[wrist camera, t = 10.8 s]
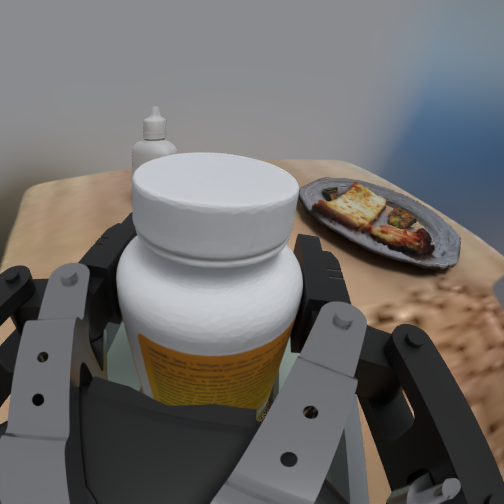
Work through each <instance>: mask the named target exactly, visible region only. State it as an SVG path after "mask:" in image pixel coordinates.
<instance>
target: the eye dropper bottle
mask: <svg viewBox="0 0 504 504" xmlns="http://www.w3.org/2000/svg"><path fill="white" fill-rule="evenodd" d="M143 129H144V131H143V138H144V140H142V141H139V142H137V143H136V144H135V145H134V146H133V148H132V178H133V174H134V172H135V171H136V170H137V169H138V168H139V167H140V166H141V165H143V164H144V163H146V162H149V161H151V160H154V159H157V158H160V157H164V156H168V155H174V154H178V151H177V148H176V147H175V146H174V145H173V144H172V143H170V142H169V141H167V140H166V139H165V137H166V119H165V118H162V117H161V116H160V111H159V107H152V111H151V115H150V117H149V118H147V119H145V120H144V127H143Z"/></svg>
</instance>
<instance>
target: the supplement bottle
mask: <svg viewBox="0 0 504 504" xmlns="http://www.w3.org/2000/svg"><path fill="white" fill-rule="evenodd" d="M298 194H299V186H298V183H297V181H296V180H295V178H294V177H293V176H291V175H290V174H289V173H288V172H286V171H284V170H282V169H281V168H279V167H277V166H274V165H272V164H269V163H267V162H263V161H260V160H256V159H252V158H248V157H243V156H238V155H231V154H223V153H182V154H174V155H168V156H164V157H160V158H157V159H154V160H151V161H149V162H146V163H144V164H143V165H141V166H140V167H139V168H138V169H137V170H136V171H135V172H134V174H133V178H132V200H133V214H132V219H133V223H134V226H135V229H136V233H137V236H136V237H135V238H134V239H133V240H132V241H131V242H130V243H129V244H128V245H127V247H126V248H125V250H124V251H123V253H122V255H121V257H120V260H119V263H118V267H117V274H116V283H117V293H118V300H119V306H120V310H121V314H122V318H123V322H124V326H125V330H126V334H127V338H128V342H129V346H130V349H131V353H132V357H133V360H134V364H135V367H136V370H137V374H138V377H139V380H140V384H141V387H142V390H143V393H144V394H145V395H147V396H149V397H151V398H153V399H155V400H157V401H159V402H161V403H163V404H165V405H169V406H180V405H204V404H218V405H225V406H232V407H241V408H250V409H257V413H256V420H257V421H258V420H259V418H260V417H261V415H262V413H263V411H264V409H265V407H266V405H267V402H268V399H269V396H270V393H271V390H272V388H273V385H274V382H275V379H276V376H277V374H278V371H279V368H280V364H281V361H282V359H283V356H284V353H285V350H286V347H287V344H288V341H289V338H290V335H291V332H292V329H293V326H294V322H295V319H296V316H297V313H298V309H299V306H300V302H301V297H302V291H303V278H302V272H301V268H300V265H299V263H298V261H297V259H296V257H295V255H294V253H293V252H292V250H291V249H290V248H289V247H288V245H287V242H288V240H289V237H290V234H291V231H292V229H293V223H294V218H295V212H296V206H297V200H298Z"/></svg>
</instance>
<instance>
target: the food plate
mask: <svg viewBox="0 0 504 504" xmlns="http://www.w3.org/2000/svg"><path fill="white" fill-rule="evenodd" d="M325 178H328V179H324V178H321V179H318V180H316V181H314V182H311V183H309V184H311V185H309V184H307V185H305V186H304V187H301V189H300V190H299V194H298V198H299V199H300V201H301V203H302V204H303V206H304V207H305V209H306V212H308V213H309V214H310V215H311V216H313V217H314V218H315V219H316V220H317V221H318V222H319V223H320V224H321V225H322V224H323V226H327V227H328V228H329V229H330V228H331V230H333V231H334V232H337V233H338V234H340V235H342V236H343V237H346V238H347V239H349V240H351V241H353V242H355V243H357V244H358V245H360V246H361V247H362V248H364V249H365V250H366V251H368V250H369V251H371V252H373V253H376V254H379V255H382V256H384V257H386V258H391V259H394V260H397V261H402V262H403V261H404V262H407V263H411V264H414V265H416V266H419V267H421V268H423V269H424V268H431V269H436V268H437V271H438V269H442V270H443V269H445V268H446V267H447V266H448V265H450V267H454V266H455V265H456V264H457V263H458V260H459V255H460V245H461V241H460V239H461V238H460V237H459V235H458V233H457V232H456V231H455V230H454V229H453V228H452V227H451V226H450V225H448V224H447V223H446V222H445V221H444V220H443V219H442V218H441V217H440V216H438V215H437V214H436V213H434V212H433V211H432V210H430V209H428V208H427V207H426V206H424V205H422V204H421V203H419V202H418V201H415V200H413V199H411V198H410V197H408V196H405V195H404V194H401V193H397V192H394V190H391V189H388V188H385V187H381V186H379V185H375V184H371V183H368V182H364V181H359V180H353V179H346V178H330V177H325ZM322 179H323V180H322ZM385 205H387V206H390V207H392V208H393V211H392V212H390V215H389V214H388V215H389V217H387V216H386V217H385V215H384V211H386V210H385V208H386V207H385ZM417 221H418V222H419V223H420V224H421V225H423V226H424V227H425V229H426V230H428V232H427V231H426V230H425V229H423V228H422V229H418V230H417V231H416V230H415V228H413V227H410V226H412V225H413V224H414V223H416V222H417ZM421 225H420V226H421ZM431 236H432V237H433V239H432V238H431ZM432 240H433V241H432ZM431 242H432V243H431ZM433 242H434V243H435V245H433ZM435 246H436V247H435ZM437 266H439V268H438V267H437Z"/></svg>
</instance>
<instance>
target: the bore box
mask: <svg viewBox="0 0 504 504" xmlns="http://www.w3.org/2000/svg"><path fill="white" fill-rule="evenodd" d="M105 330H106V333H107V374H108V380H109V381H112V382H115V383H119V384H123V385H126V386H130V387H132V388H133V389H135V390H137V391H139V392H141V393H143V390H142V387H141V384H140V380H139V377H138V374H137V370H136V367H135V364H134V360H133V357H132V353H131V349H130V346H129V342H128V338H127V334H126V330H125V326H124V322H123V319H122V321H121V323H120V325H119V324H115V323H111V322H108V324H107V326H106V328H105ZM299 355H300V353H291V347H290V338H289V341H288V344H287V347H286V350H285V353H284V356H283V359H282V361H281V364H280V368H279V371H278V374H277V376H276V379H275V382H274V385H273V400H272V404H273V402H274V401H275V399H276V397H277V395H278V393H279V391H280V389H281V388H282V386H283V384H284V382H285V380H286V378H287V376H288V374H289V372H290V370H291V368H292V366H293V364H294V362H295V360H296V358H297V357H298V356H299ZM143 394H144V393H143ZM326 479H327V480H328V481H329V482H330V483H331V484H332V485H333V486H334V487H335V489H336V490H337V491H338V492H339V493H340V494H341V495H342V496H343V497H344V498H345V499H346V500H347V501H348V502H349V503H350V504H369V497H368V485H367V474H366V464H365V455H364V446H363V438H362V431H361V423H360V416H359V410H358V403H357V397H356V394H355V395H354V398H353V401H352V405H351V408H350V411H349V414H348V417H347V420H346V424H345V427H344V429H343V432H342V435H341V438H340V441H339V444H338V446H337V449H336V452H335V455H334V457H333V460H332V462H331V465H330V467H329V470H328V472H327V475H326Z"/></svg>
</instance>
